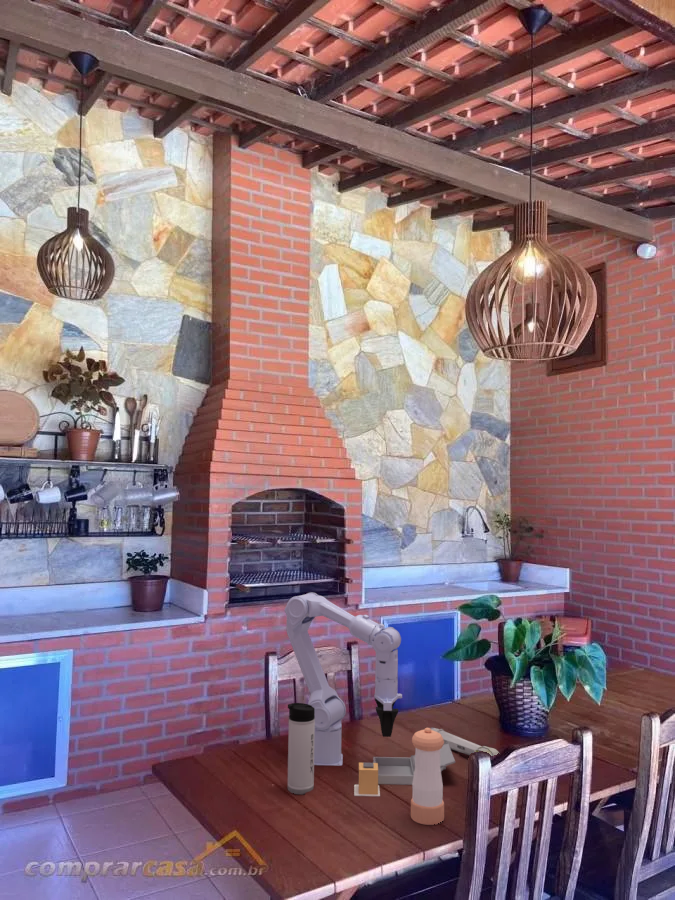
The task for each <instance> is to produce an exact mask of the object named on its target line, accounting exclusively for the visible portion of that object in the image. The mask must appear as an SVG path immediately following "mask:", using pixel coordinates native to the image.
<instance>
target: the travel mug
mask: <svg viewBox="0 0 675 900" xmlns="http://www.w3.org/2000/svg"><path fill="white" fill-rule="evenodd" d="M287 709H288V711H289V712H288V714H289V715H288V739H287V740H288V743H287V745H288V746H287V747H288V748H287V749H288V752H287V753H288V754H287V791H288V792H289V793H291V794H293V793H294V794H293V795H306V793H309V792H311V791H313V790H314V786H315V785H314V782H315V765H314V737H315V715H314V714H315V708H313V707H312V706H311V705H308V703H304V702H303V703H302V702H293V703H288V704H287Z"/></svg>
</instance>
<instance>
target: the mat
mask: <svg viewBox="0 0 675 900" xmlns="http://www.w3.org/2000/svg"><path fill="white" fill-rule="evenodd" d="M353 787H354V788H353V789H354V790H353V791H354V792H353V793H354V794H353V795H354V796H353V797H381V791H380V790H381V789H380V784H378V794H359V784H354V786H353Z"/></svg>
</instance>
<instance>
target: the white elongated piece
mask: <svg viewBox="0 0 675 900" xmlns="http://www.w3.org/2000/svg"><path fill="white" fill-rule="evenodd" d="M429 728H430V729H431V730H433V731H436V732H438V733H440V734H441V736H442V737H443V740H444V744H443V745H445V744H449V747H450V749H451V751H452V750H453V751H456V752H459V753H462V754H465V755H468V756H470V754H471V753H474V752H479V751H483V752H487V753H489V754H490V755H491V756H494V755H497V754H498V753H499V754H500V752H499V750H497V749H496V748H493V747H489V746H485V745H482V746H481V745H479V744H477V743H475V742H472V741H470V740H466V739H464V738H462V737H459V736H457V735H454V734H452V733H449V732H447V731H445V730H444V729H443V728H440V729H439V728H437V727H436V728H435V727H429Z"/></svg>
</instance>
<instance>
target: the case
mask: <svg viewBox="0 0 675 900" xmlns="http://www.w3.org/2000/svg"><path fill="white" fill-rule="evenodd" d="M455 759H456V758H455V757H454V754H453V752H452V749H450V747H449V744H445V745H443V746H442V748H441V749H440V770H441V773H442V771H444V770H446V769H447V766H449V765H453V764H455V763H456V760H455ZM372 763H378V785H405V786H409V785H410V786H412V783H413V777H414V770H415V754H414V755H410V757H404V756H402V757H400V756H399V757H397V756H393V757H391V756H372Z"/></svg>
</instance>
